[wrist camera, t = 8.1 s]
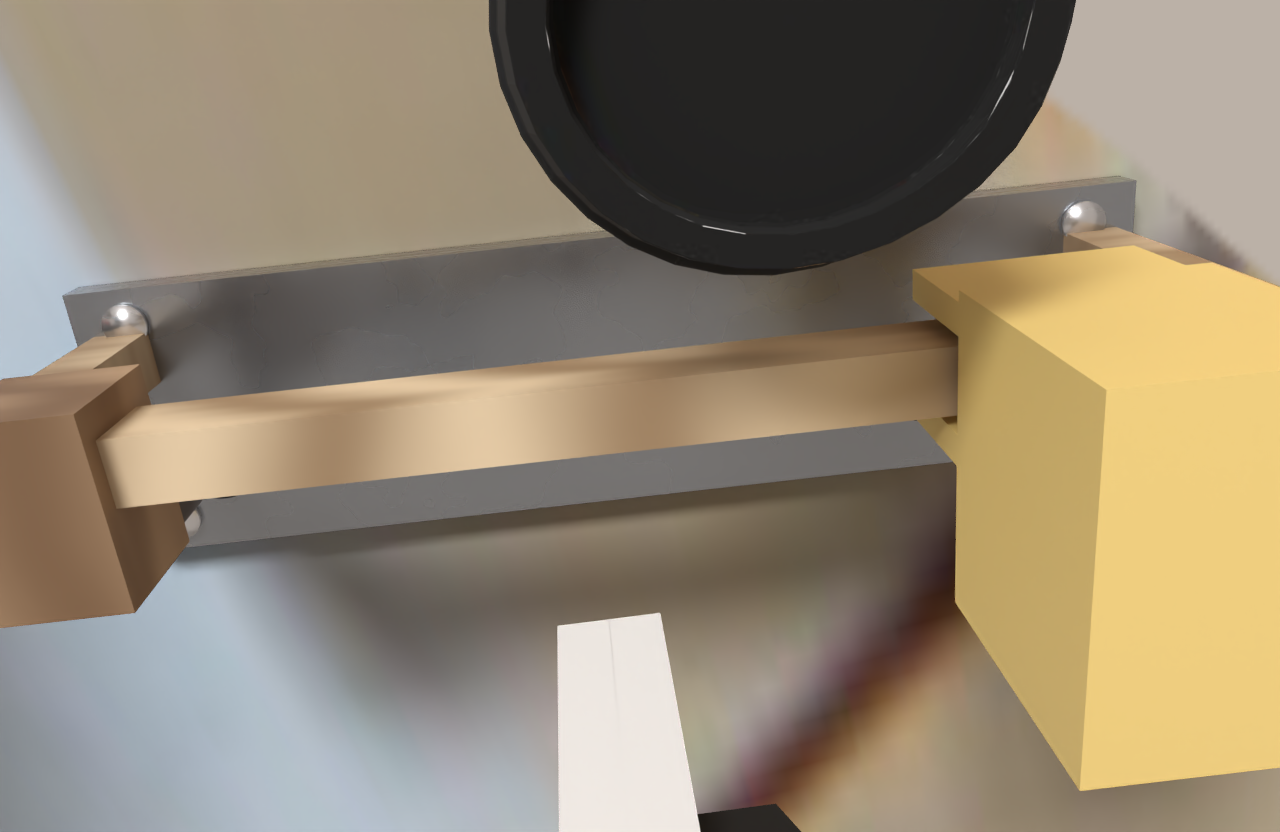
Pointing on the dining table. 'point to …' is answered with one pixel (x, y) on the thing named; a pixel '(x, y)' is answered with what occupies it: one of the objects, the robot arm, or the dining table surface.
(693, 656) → the dining table surface
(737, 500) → the dining table surface
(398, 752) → the dining table surface
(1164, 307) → the slider head
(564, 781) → the robot arm
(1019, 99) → the coffee cup
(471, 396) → the bar
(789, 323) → the hole plate
